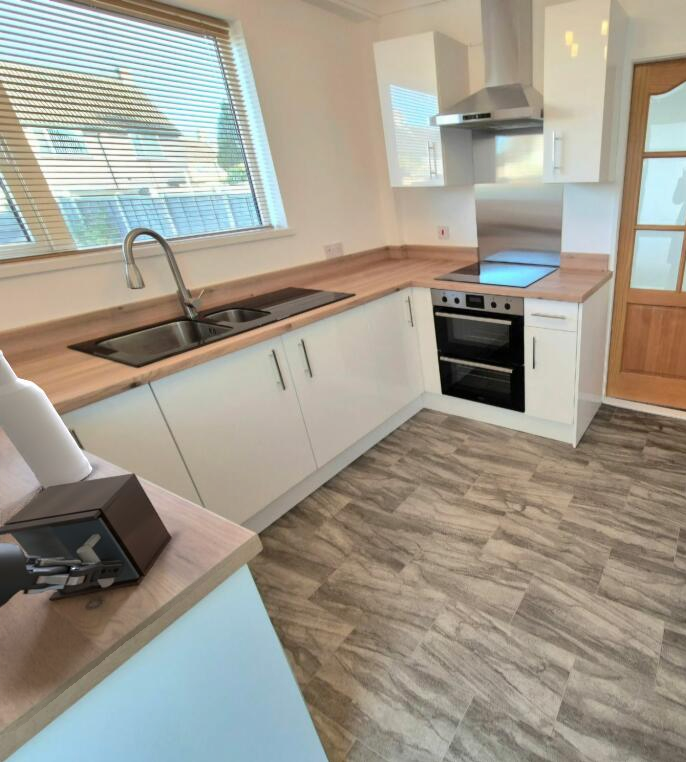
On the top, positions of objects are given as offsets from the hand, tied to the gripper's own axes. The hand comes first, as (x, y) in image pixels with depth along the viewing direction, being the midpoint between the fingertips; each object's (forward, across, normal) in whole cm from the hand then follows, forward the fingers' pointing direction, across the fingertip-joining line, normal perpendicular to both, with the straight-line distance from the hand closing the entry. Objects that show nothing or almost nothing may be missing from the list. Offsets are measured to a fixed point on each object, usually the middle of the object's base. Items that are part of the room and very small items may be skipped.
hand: (114, 567), depth 62 cm
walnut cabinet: (+6, +7, +1) cm, 9 cm away
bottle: (+18, +42, -11) cm, 47 cm away
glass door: (+2, +2, +4) cm, 4 cm away
